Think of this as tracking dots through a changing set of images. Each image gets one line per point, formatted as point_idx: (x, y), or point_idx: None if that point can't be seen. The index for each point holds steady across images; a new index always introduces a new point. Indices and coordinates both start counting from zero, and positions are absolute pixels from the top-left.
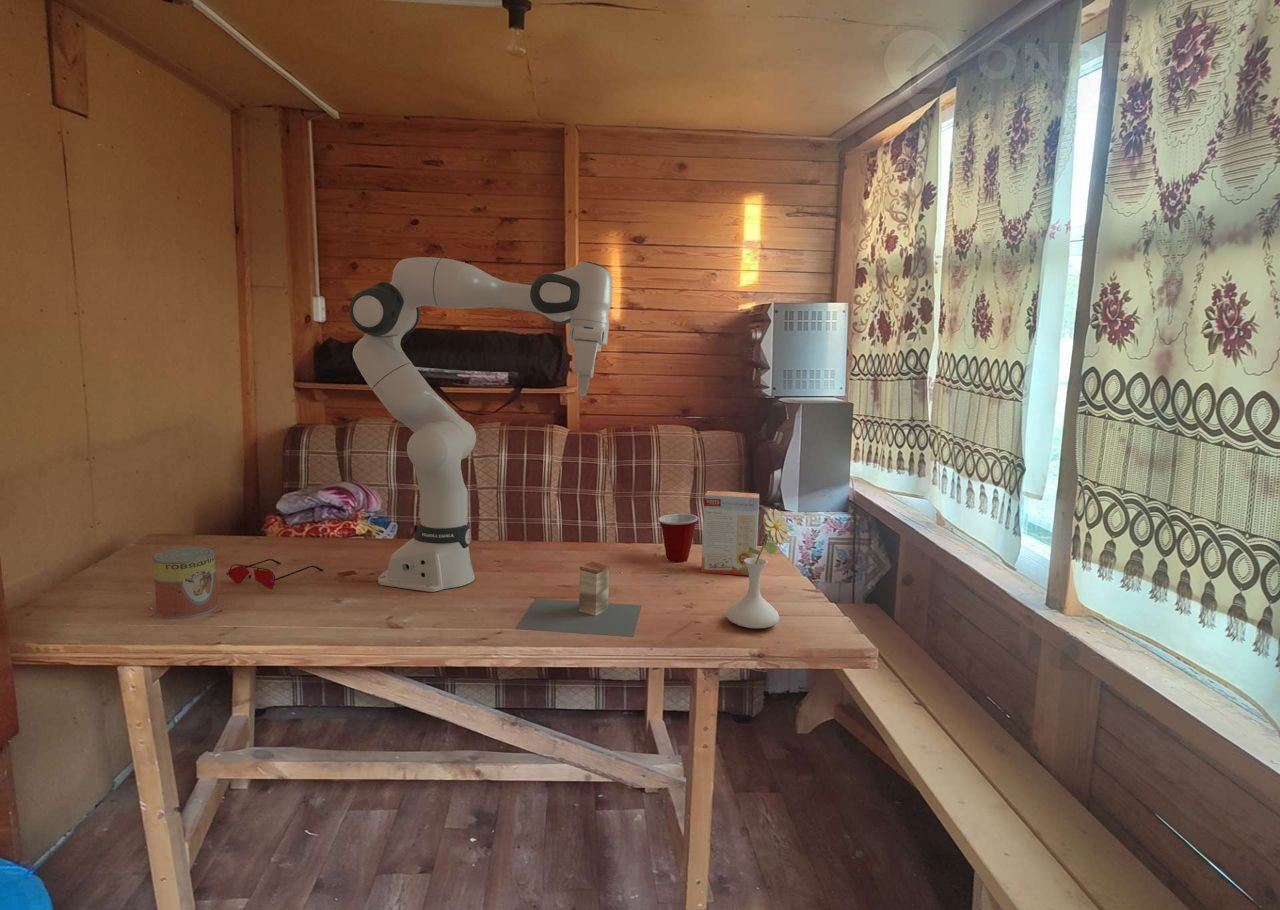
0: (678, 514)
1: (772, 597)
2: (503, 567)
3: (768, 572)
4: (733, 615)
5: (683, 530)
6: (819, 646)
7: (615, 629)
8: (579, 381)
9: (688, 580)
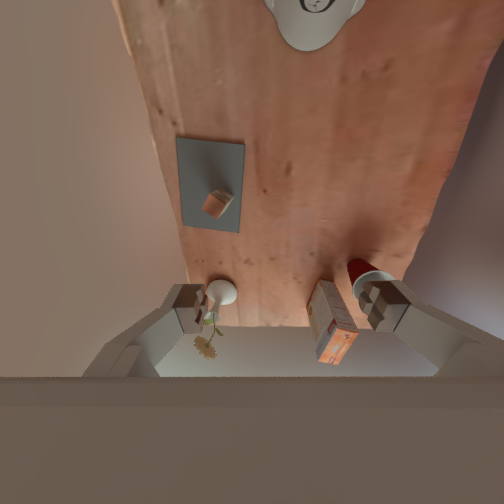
0: None
1: (266, 307)
2: (357, 82)
3: None
4: (213, 283)
5: (352, 286)
6: None
7: (192, 214)
8: (121, 339)
9: (300, 267)
